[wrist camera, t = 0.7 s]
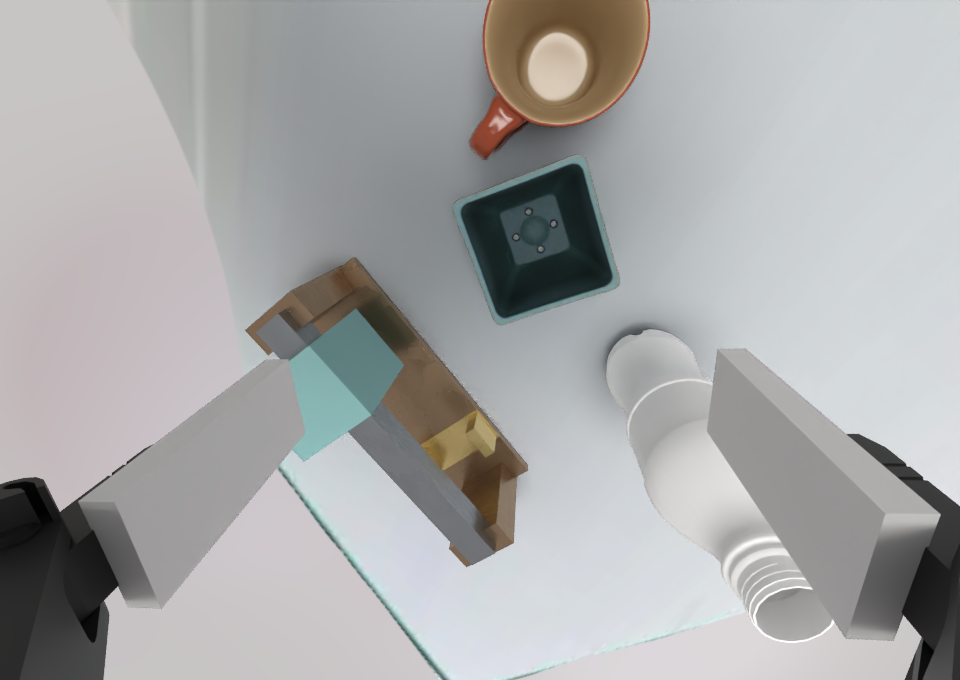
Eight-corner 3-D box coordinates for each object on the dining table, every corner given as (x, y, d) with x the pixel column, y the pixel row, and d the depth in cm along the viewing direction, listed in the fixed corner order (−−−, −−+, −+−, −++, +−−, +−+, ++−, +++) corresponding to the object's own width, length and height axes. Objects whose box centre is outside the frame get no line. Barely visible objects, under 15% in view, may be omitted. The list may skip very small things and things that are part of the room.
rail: (292, 306, 42) (223, 346, 33) (353, 255, 40) (298, 281, 30) (466, 502, 48) (451, 583, 38) (528, 466, 46) (528, 544, 36)
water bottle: (590, 383, 42) (665, 650, 18) (618, 311, 39) (747, 517, 16) (665, 404, 42) (835, 699, 18) (698, 334, 39) (945, 574, 16)
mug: (554, -28, 31) (565, -115, 22) (641, 67, 33) (687, 24, 23) (444, 117, 35) (412, 97, 26) (526, 196, 37) (524, 204, 27)
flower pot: (571, 155, 35) (584, 150, 27) (602, 261, 38) (622, 287, 30) (467, 195, 37) (448, 203, 29) (503, 294, 40) (495, 327, 31)
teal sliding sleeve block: (300, 352, 38) (242, 398, 31) (355, 308, 36) (308, 345, 29) (348, 404, 40) (303, 461, 32) (404, 364, 38) (371, 415, 30)
